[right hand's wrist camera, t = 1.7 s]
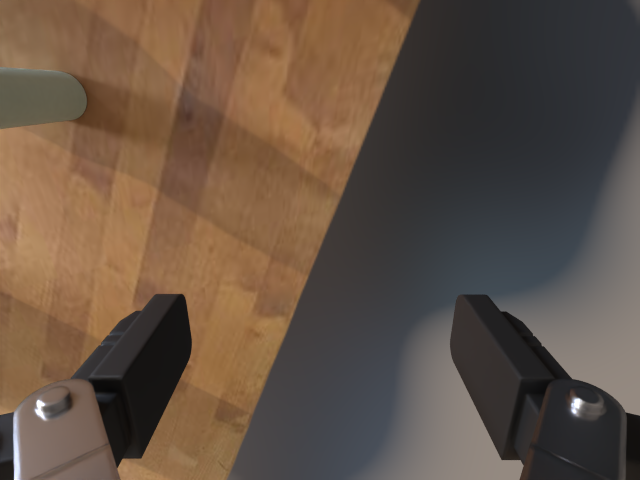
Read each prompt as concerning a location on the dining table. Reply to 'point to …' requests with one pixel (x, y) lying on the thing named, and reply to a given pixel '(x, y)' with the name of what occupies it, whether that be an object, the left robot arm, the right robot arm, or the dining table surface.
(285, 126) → the dining table surface
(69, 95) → the bottle
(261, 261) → the dining table surface
